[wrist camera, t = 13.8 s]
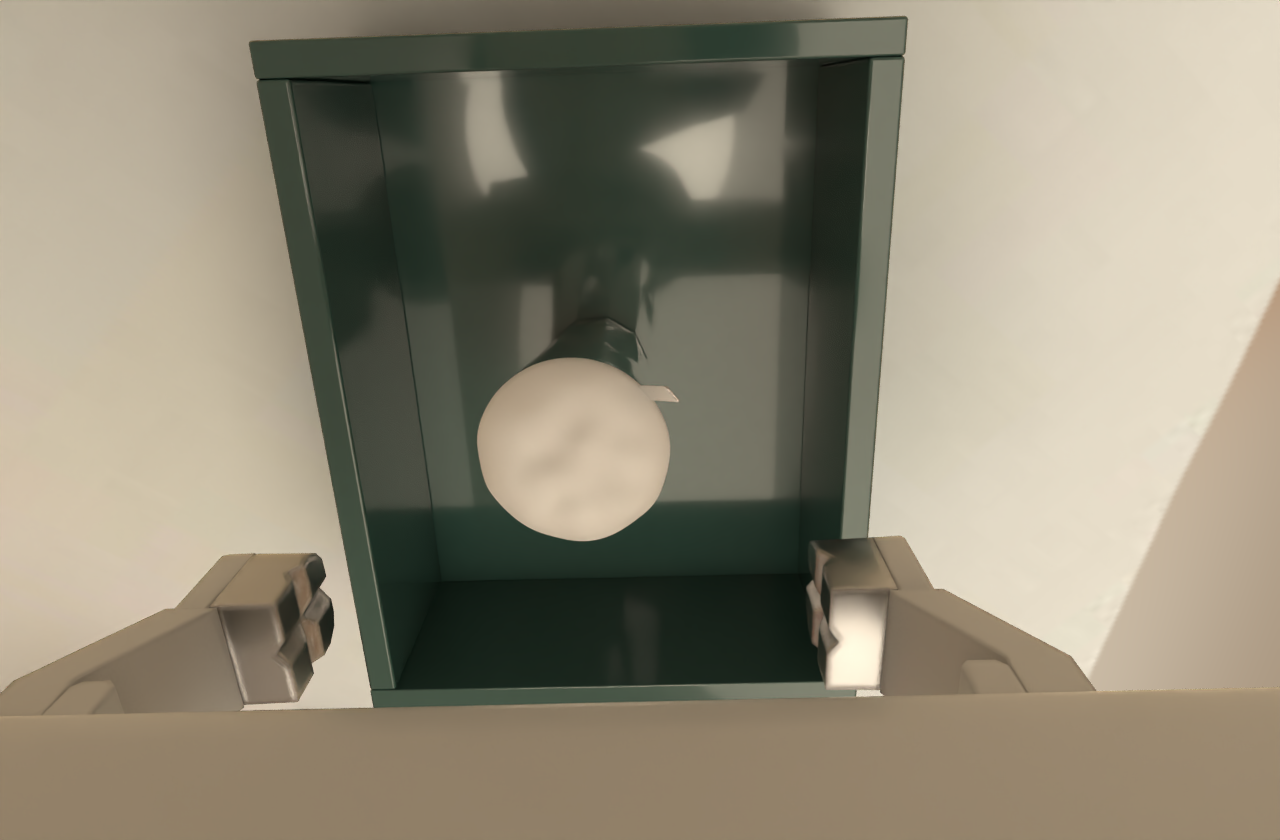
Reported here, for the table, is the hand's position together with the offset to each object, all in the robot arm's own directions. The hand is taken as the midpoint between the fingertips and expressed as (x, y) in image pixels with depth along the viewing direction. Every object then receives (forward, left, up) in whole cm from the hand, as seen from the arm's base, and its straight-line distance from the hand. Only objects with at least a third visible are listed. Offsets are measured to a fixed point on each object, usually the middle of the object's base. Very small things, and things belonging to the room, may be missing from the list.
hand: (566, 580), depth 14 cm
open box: (0, 0, -15) cm, 15 cm away
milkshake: (0, 0, -14) cm, 14 cm away
